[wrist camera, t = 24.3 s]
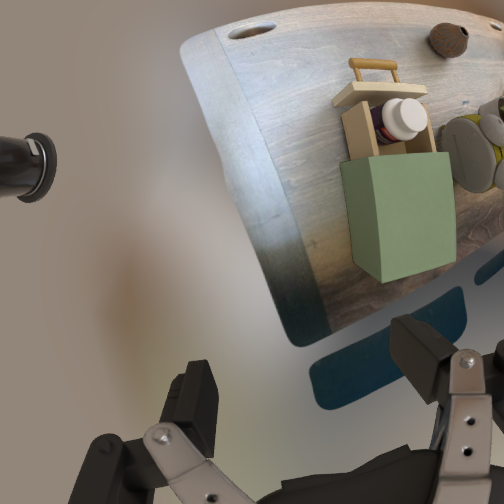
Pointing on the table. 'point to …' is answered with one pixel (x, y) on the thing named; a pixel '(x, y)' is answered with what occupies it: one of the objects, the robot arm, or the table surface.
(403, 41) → the table surface
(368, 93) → the drawer
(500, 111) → the house plant
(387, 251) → the cabinet
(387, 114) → the pill bottle
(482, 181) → the alarm clock
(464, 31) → the vase
